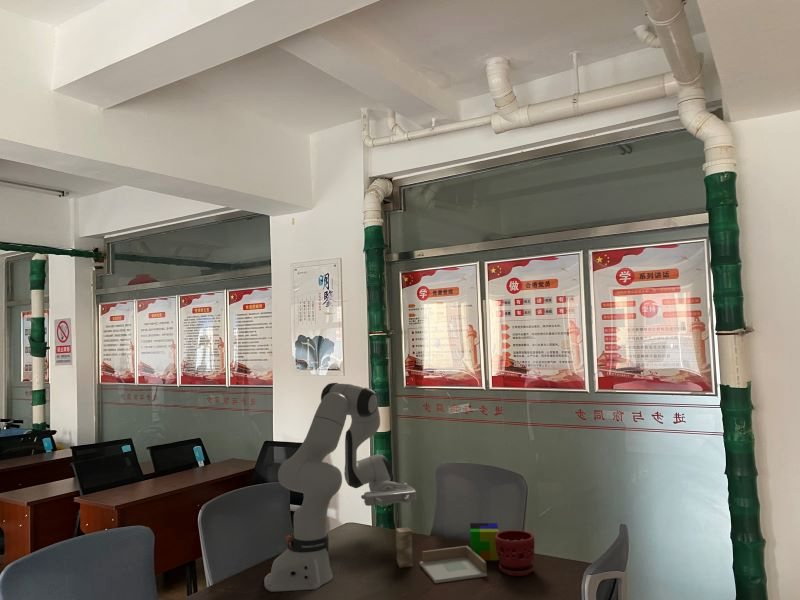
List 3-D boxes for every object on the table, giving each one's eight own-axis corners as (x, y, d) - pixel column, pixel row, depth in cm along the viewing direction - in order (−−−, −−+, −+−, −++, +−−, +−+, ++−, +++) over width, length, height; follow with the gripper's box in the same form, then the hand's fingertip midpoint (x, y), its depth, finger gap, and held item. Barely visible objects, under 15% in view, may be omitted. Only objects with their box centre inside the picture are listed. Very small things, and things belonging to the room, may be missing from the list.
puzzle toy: (498, 550, 227) (497, 523, 227) (499, 560, 217) (498, 531, 217) (470, 550, 228) (470, 523, 228) (471, 560, 218) (470, 531, 218)
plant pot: (541, 568, 209) (539, 532, 209) (526, 581, 198) (525, 543, 199) (505, 561, 216) (504, 526, 217) (489, 573, 205) (488, 537, 206)
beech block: (400, 567, 213) (399, 532, 213) (396, 563, 217) (395, 528, 218) (412, 565, 214) (411, 530, 214) (409, 561, 218) (408, 527, 219)
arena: (435, 583, 198) (434, 569, 199) (419, 564, 215) (419, 551, 215) (486, 576, 203) (486, 562, 203) (467, 558, 219) (467, 545, 220)
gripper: (359, 487, 239) (367, 496, 226) (410, 482, 244) (420, 490, 231) (360, 503, 239) (367, 513, 225) (410, 498, 244) (420, 507, 231)
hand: (394, 502), depth 228 cm, fingers open, 8 cm apart
